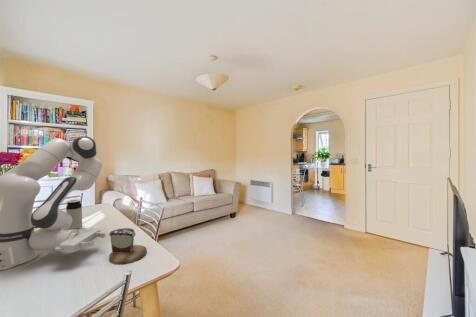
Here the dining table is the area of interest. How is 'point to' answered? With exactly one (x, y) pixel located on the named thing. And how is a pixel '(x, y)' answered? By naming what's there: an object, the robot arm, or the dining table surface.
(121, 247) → the food container
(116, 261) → the walnut trivet
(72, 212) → the travel mug
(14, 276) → the dining table surface
